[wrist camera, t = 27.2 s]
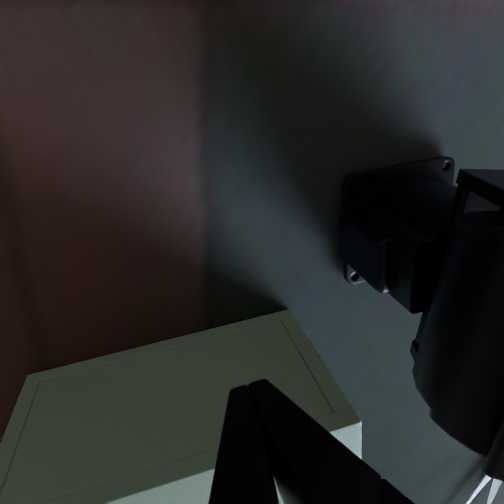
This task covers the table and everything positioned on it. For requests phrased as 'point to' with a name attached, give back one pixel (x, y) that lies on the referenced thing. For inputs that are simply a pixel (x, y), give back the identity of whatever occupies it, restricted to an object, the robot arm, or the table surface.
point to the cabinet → (157, 415)
